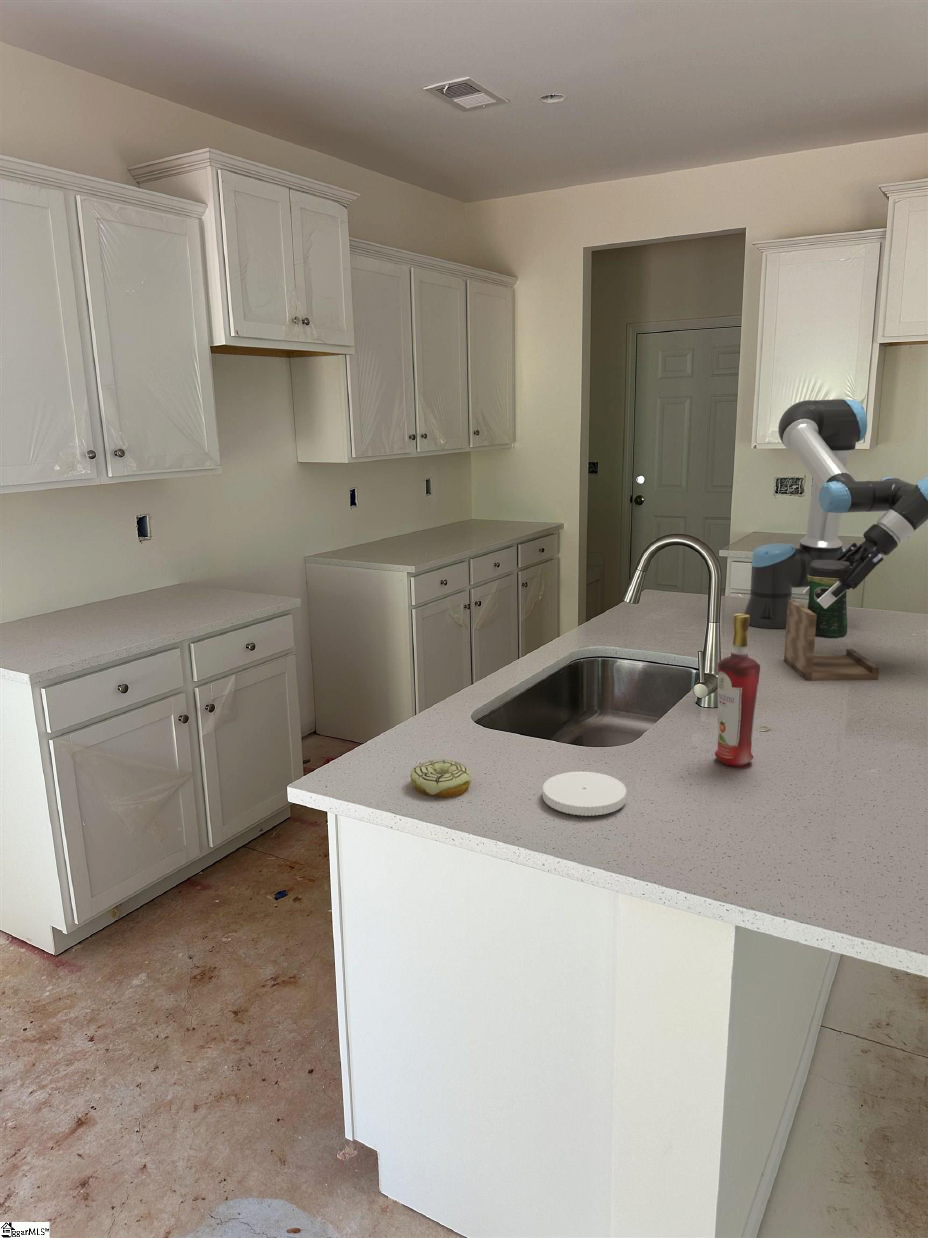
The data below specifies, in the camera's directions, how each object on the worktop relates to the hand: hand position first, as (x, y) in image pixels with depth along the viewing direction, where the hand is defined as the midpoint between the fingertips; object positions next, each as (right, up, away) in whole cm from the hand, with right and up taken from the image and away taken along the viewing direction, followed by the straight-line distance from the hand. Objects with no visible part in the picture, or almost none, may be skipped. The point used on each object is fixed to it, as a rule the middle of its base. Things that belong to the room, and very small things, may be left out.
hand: (814, 600), depth 212 cm
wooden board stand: (+5, -17, +4) cm, 18 cm away
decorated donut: (-89, -35, -57) cm, 111 cm away
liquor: (-35, -31, -49) cm, 68 cm away
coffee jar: (+3, -9, +2) cm, 10 cm away
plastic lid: (-64, -36, -63) cm, 97 cm away
